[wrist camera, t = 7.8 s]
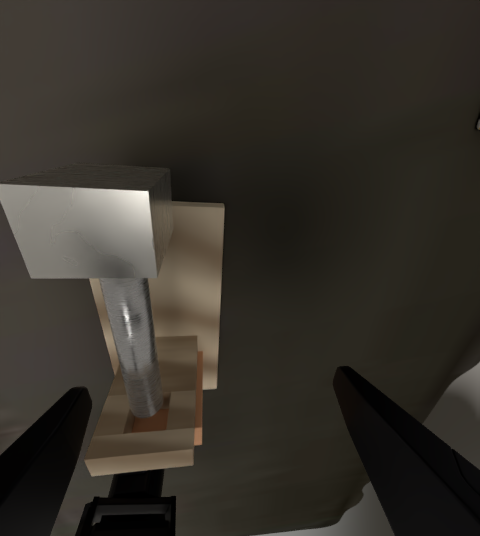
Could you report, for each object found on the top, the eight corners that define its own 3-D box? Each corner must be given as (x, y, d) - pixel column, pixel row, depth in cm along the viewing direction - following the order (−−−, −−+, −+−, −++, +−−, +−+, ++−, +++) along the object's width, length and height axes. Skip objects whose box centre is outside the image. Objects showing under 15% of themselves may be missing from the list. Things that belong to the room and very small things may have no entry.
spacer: (202, 367, 25) (201, 444, 19) (130, 371, 24) (104, 454, 18) (202, 351, 24) (201, 427, 18) (126, 354, 23) (97, 436, 17)
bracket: (216, 379, 28) (221, 500, 19) (123, 384, 26) (80, 518, 17) (223, 203, 18) (241, 276, 9) (77, 197, 17) (-77, 277, 8)
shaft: (181, 368, 18) (174, 442, 14) (125, 371, 18) (99, 449, 13) (169, 168, 11) (148, 191, 7) (77, 162, 11) (-7, 183, 7)
